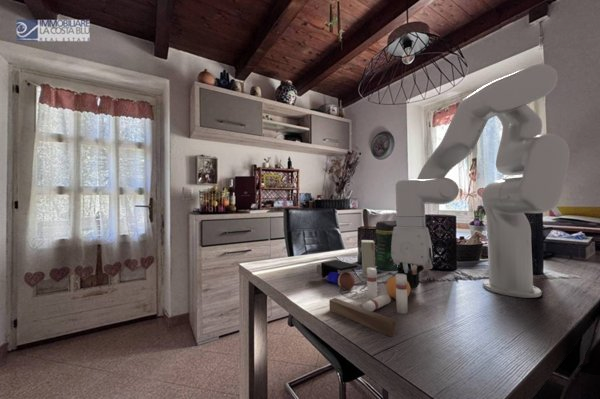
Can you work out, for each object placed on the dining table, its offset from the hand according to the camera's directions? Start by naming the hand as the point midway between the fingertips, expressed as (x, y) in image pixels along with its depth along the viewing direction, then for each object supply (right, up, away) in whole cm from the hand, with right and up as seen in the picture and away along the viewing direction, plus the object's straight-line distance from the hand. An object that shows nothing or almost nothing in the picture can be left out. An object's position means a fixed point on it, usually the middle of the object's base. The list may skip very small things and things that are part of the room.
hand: (412, 286), depth 70 cm
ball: (-6, +1, -5) cm, 8 cm away
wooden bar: (-19, -2, -16) cm, 25 cm away
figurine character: (-20, -3, +9) cm, 22 cm away
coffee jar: (+3, -2, +26) cm, 26 cm away
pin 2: (-8, -2, -12) cm, 15 cm away
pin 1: (-13, -2, -6) cm, 15 cm away
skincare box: (-8, -2, +17) cm, 19 cm away
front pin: (-10, 0, -7) cm, 12 cm away
